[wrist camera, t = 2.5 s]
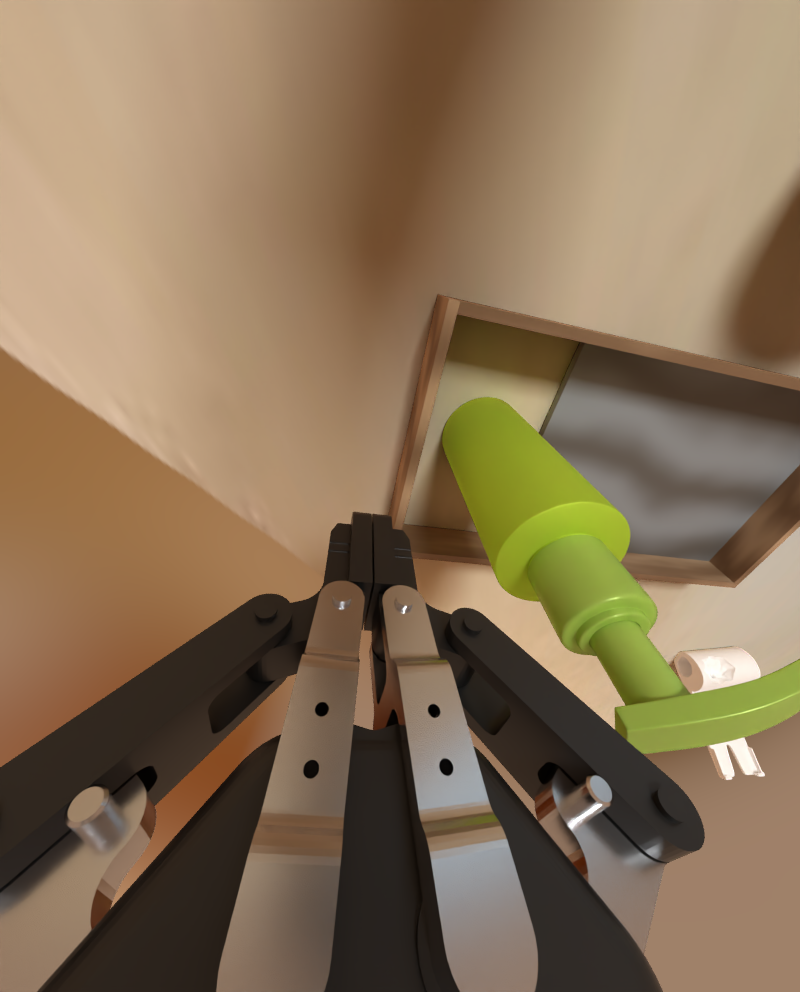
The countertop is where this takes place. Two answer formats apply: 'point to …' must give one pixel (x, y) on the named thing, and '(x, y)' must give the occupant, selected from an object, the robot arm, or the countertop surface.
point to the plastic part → (714, 673)
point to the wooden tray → (646, 450)
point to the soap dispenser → (591, 582)
